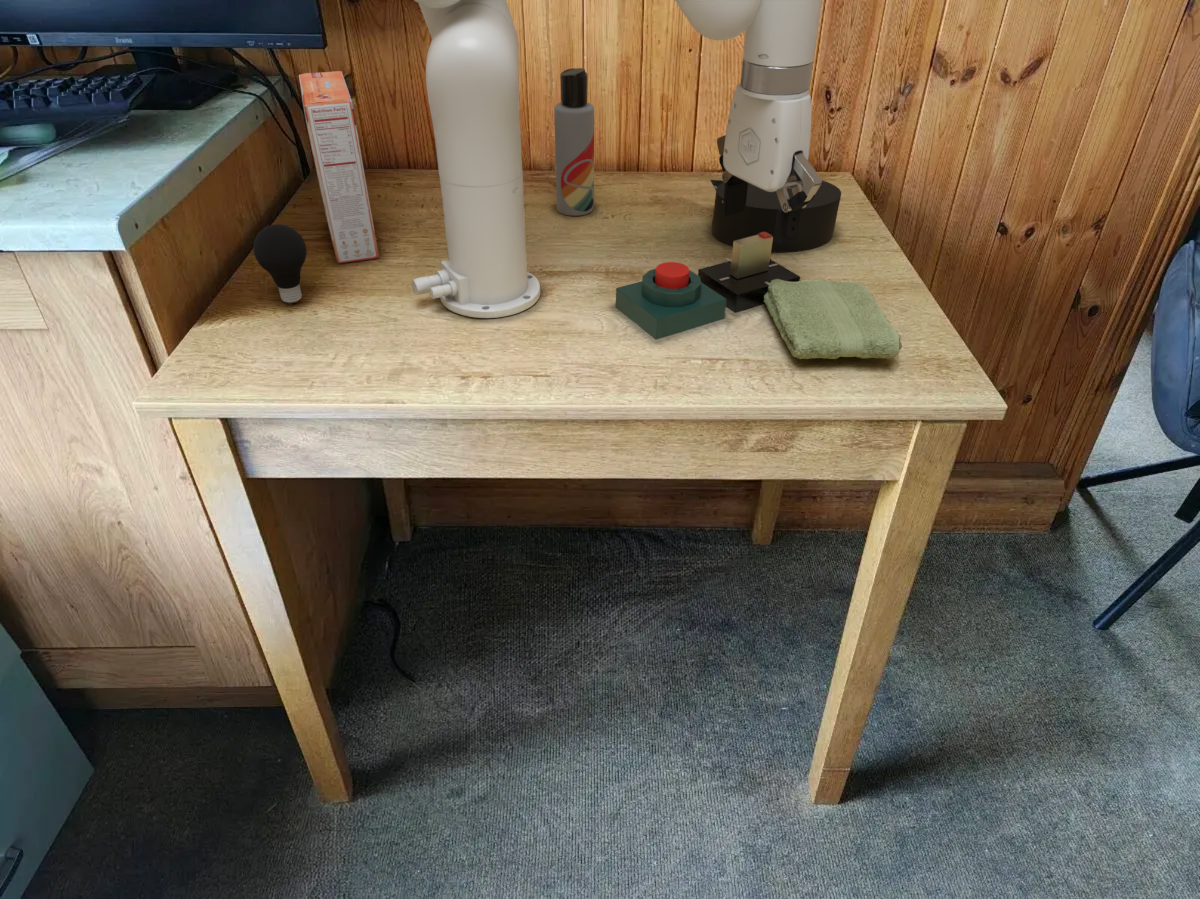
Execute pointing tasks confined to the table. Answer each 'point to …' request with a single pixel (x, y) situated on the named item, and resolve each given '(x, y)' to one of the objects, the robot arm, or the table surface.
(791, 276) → the dial panel
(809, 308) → the washcloth
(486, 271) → the robot arm
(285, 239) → the light bulb
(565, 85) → the lotion bottle
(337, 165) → the cracker box
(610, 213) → the table surface
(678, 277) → the button
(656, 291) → the button block
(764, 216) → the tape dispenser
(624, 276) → the table surface
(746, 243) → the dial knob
